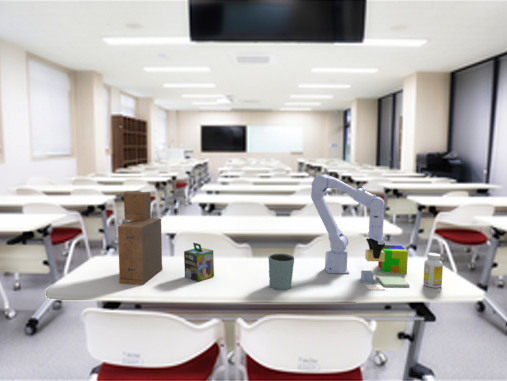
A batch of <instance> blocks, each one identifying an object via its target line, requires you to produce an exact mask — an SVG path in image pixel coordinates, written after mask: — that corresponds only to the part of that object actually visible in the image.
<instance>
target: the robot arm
mask: <svg viewBox="0 0 507 381" xmlns="http://www.w3.org/2000/svg"><path fill="white" fill-rule="evenodd" d="M328 189H337V190H339V191H342V192H344V193H346V194H348V195H350V196H352V199H353V201H355V202H357V203H359V204H361V205H363V206H364V207H368V209H369V212H370V213H369V220H368V222H369V223H368V233H367V238H366V243H367V245H368V248H369V249H368V250H373V257H374V258H375V259H379V257H380V254H381V251H382V249H383V247H384V246H385V245H386V243H385V242H384V241H385V240H384V239H385V238H386V235H385V234H384V218H385V215H384V212H385V211H384V207H385V204H386V202H385V200H384V199H383V198H382V197H381V196H377V195H376V194H375V193H374V194H373V193H370V192H369V191H366V189H365V188H364V187H363V188H357V189H356V188H354V187H352V186H350V184H347V183H346V182H343V181H341V180H340V179H338V178H336V177H334V176H331V175H328V174H326V173H324V174H320V175H316V176H315V177H314V178H313V179H312V182H311V193H310V199H311V201H312V204H313V205H314V207H315V209H316V212H317V213H318V215H319V217H320V219H321V221H322V223H323V225H324V228H325V229H326V233H327V234H328V240H329V244H330V245H329V246H330V250H329V251H325V257H324V260H325V261H324V264H325V265H324V269H325V270H326V272H327V274H350V271H349V270H348V250H347V246H349V239H348V237H347V236H346V235H345V234H344V233H343V231H342V230H341V229H340V228H339V226H338V224H337V222H336V220H335V219H334V216H333V214H332V212H331V210H330V208H329V206H328V204H327V201H326V199H325V198H324V196H325V193H326V192H327V190H328Z"/></svg>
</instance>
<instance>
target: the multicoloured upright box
mask: <svg viewBox="0 0 507 381" xmlns="http://www.w3.org/2000/svg"><path fill="white" fill-rule="evenodd" d="M192 244H193V247H194V248H191V249H188V250H184V252H183V254H184V255H183V260H184V262H183V265H184V278H186V279H189V280H192V281H194V282H197V283H199V282H202V281H205V280H208V279H210V278H212V277H213V278H214V277H215V263H214V262H215V261H214V250H213V249H209V248H205V247H202V245H201V243H196V242H193V243H192Z"/></svg>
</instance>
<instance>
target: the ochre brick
mask: <svg viewBox="0 0 507 381" xmlns="http://www.w3.org/2000/svg"><path fill="white" fill-rule="evenodd" d="M364 258H365V260H366V261H367V262H378V261H381V262H384V259H385V252H384V251H383V250H382V251H381V254H380V257H379V259H375V258H374V257H373V250H369V249H365V257H364Z"/></svg>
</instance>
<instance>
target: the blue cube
mask: <svg viewBox="0 0 507 381" xmlns="http://www.w3.org/2000/svg"><path fill="white" fill-rule="evenodd" d="M374 276H375V274H374V272H373V271H372V270H361V271H360V281H361V282H362V283H363V284H374V278H375V277H374Z"/></svg>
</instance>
